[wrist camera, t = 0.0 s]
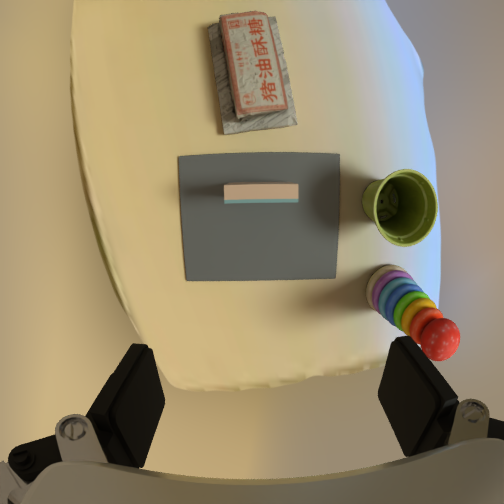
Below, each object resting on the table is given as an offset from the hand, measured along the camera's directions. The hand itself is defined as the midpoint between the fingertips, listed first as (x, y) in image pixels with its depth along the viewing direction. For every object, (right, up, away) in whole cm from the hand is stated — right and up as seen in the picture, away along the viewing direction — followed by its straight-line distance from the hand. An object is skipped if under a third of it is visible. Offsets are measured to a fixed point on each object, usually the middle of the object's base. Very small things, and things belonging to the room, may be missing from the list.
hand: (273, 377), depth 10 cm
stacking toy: (+21, -1, +33) cm, 39 cm away
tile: (0, +13, +28) cm, 31 cm away
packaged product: (-1, +30, +25) cm, 39 cm away
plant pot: (+18, +12, +29) cm, 36 cm away
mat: (0, +9, +30) cm, 31 cm away
